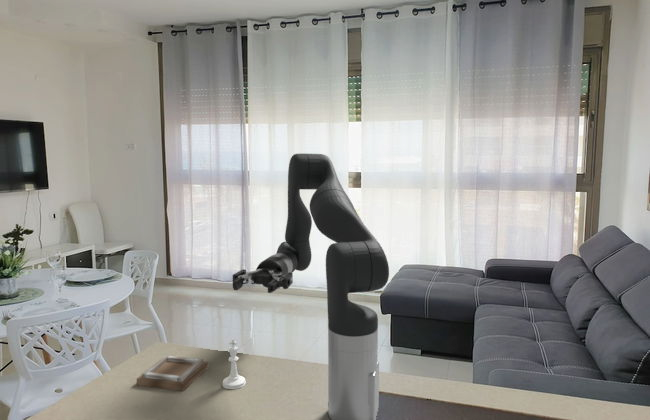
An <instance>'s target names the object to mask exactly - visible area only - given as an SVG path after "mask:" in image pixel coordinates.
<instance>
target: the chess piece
mask: <svg viewBox="0 0 650 420" xmlns="http://www.w3.org/2000/svg"><path fill="white" fill-rule="evenodd" d="M228 345H231V346H229V347H228V352H229V354H230V356H229V357H228V362H231V363H230V373H229V375H228V376H227V377H225V378H223V381H222V387H223V388H225V389H227V390H237V389H241V388H243V387H245V386H246V383H247V382H246V378H245V377H244V376H242V375H240V374H239V373H238V368H237V361H239V359H240V358H239V357H238V356H237V353H238V351H239V347H238V346H237V345H238V341H235V338H231V341H229V342H228Z"/></svg>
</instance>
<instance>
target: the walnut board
mask: <svg viewBox="0 0 650 420" xmlns="http://www.w3.org/2000/svg"><path fill="white" fill-rule="evenodd" d="M208 368H209V361H206V360H204V359H201V358H192V357H186V356H185V357H184V356H175V355H164V356H163V357H162V358H161V359H159V360H158V361H156V362H155V363H154V364H152V365H151V366H150V367H148V368H147V369H146V370H145V371H143V372H142V373H141V375H139V376H137V378H136V386H140V387H141V386H142V387H147V388H149V387H150V388H157V389H165V390H171V391H180V392H184V391H185V390H186V389H187V388H188V387H190V385H191V384H193V383H194V381H196V380H197V379H198V378H199V377H200V376H201V375H203V373H205V371H206V370H208Z"/></svg>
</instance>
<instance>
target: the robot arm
mask: <svg viewBox="0 0 650 420" xmlns="http://www.w3.org/2000/svg"><path fill="white" fill-rule="evenodd" d="M301 190H315V191H314V193H313V194H312V196H311V198H310V202H309V209H308V208H307V206H306V205H305V203H304V202H303V199H302V197H301V193H300V191H301ZM312 219H313V220H312ZM312 221H313V222H314V225H315V227H316V229H317V230H318V231H319V232H320V234H322V235H324V236H325V237H326V238H327V239H329V240H330V241H333V242H334V243H330V245H329V246H328V248H327V250H326V256H325V277H326V279H325V281H326V298H327V302H326V304H327V329H328V330H327V332H328V334H327V336H328V337H327V344H328V345H327V349H328V350H327V355H328V356H327V362H328V363H327V365H328V366H327V374H328V375H327V377H328V379H327V383H328V384H327V386H328V387H327V393H328V394H327V395H328V397H327V398H328V399H327V401H328V402H327V407H328V408H327V409H328V417H329V419H331V420H377V417H378V413H379V409H378V408H379V403H380V402H379V401H380V399H379V397H380V395H379V393H380V386H379V385H380V363H379V361H378V345H379V343H378V342H379V341H378V339H379V338H378V336H379V335H378V334H379V318H378V314H377V312H376V311H375V310H374V309H372V308H370V307H368V306H365V305H364V304H363V305H362V304H358V303H355V302H353V301H351V300H349V296H348V295H349V294H353V293H354V294H355V293H366V292H375V291H378V290H380V289H381V290H382V289H383V288H384V287H385V286H386V285H387V284H388V281H389V278H390V277H389V276H390V267H389V261H388V259H387V255H386V254H385V250H384V249H383V247H382V246H381V244H380V243H379V241H378V240H377V238H376V237H375V236H374V234H372V232H371V231H370V230H369V229H368V228H367V226H366V225H365V223H364V221H362V219H361V218H360V216H359V215H358V212H357V210H356V208H355V207H354V204H353V202H352V200H351V199H350V198H349V196H348V195H347V193H346V191H345V190H344V188H343V186H342V184H341V182H340V180H339V178H338V175H337V172H336V170H335V167H334V164H333V162H332V160H331V159H330V157H329V156H327V155H326V154H323V153H295V154H293V155H292V156H291V157H290V159H289V163H288V172H287V221H286V226H285V233H284V240H285V241H283V242H281V243H280V244H279V246H278V248H277V251H276V253H274V254H273V255H270V256H268V257H267V258H266V259H264V260H262V261H261V262H260V263H259V264H258V265H257V267H256V269H255V270H253V271H247V270H246V269H241V270H240V271H237V272H235V273H233V274H232V289H233V291H239V290H240V289H241V288H243V287H245V286H246V287H247V286H248V287H250V288H251V287H255V286H262V287H265V288H267V293H268V294H272V293H273V292H274V291H277V290H279V289H281V288H282V289H283V290H288V288H289V287H290V286H291V285H293V279H294V278H293V273H294V271H298V272H302V271H305V270H306V269H308V268H309V266H310V265H311V263H312V262H311V261H312V249H311V244H310V235H311V231H312V225H313V224H312V223H313V222H312ZM377 412H378V413H377ZM376 416H377V417H376Z"/></svg>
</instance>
